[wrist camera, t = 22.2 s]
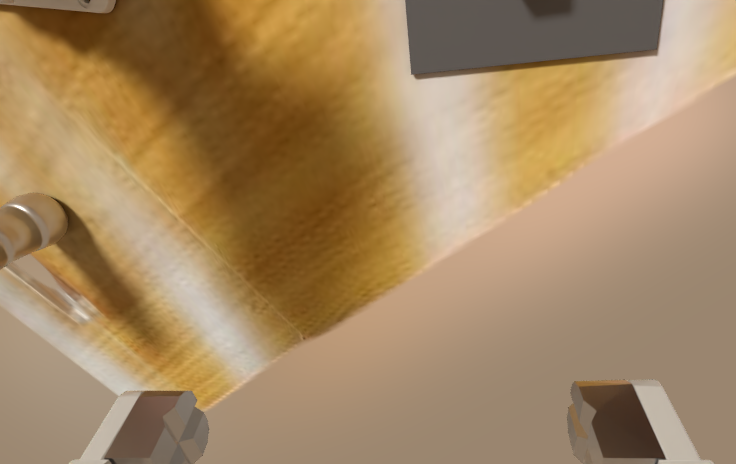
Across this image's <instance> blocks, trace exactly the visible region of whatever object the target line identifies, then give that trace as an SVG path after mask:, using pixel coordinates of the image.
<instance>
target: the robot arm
mask: <svg viewBox="0 0 736 464" xmlns="http://www.w3.org/2000/svg"><path fill="white" fill-rule="evenodd" d="M115 2H116V0H90V2H89V1H88V0H0V4H5V5H16V6H27V7H38V8H49V9H60V10H72V11H83V12H94V13H109V12H111V11H112V10H113V8H114V6H115ZM571 396H572V400H573V404H572V405H571V406H569V407H568V416H567V421H568V433H569V438H570V442H571V446H572V450H573V453H574V456H575V457H576V458H578V459H579V460H580V461H581V462H582V463H583V464H714V463H713V462H712V461H711V460H701V459H700V457H699V455H698V453H697V451H696V449H695V447H694V445H693V444H692V442H691V440H690V438H689V436H688V434H687V432H686V430H685V429H684V427H683V425H682V423H681V421H680V419H679V417H678V415H677V413H676V411H675V409H674V408H673V406H672V404H671V402H670V400H669V398H668V396H667V395H666V392H665V390H664V389H663V387H662V385H661V384H660V383H659V382H658V381H657V380H653V379H652V380H628V381H627V380H601V381H575V382H574V383H573V384H572V387H571ZM196 402H197V399H196V397H195V396H194V394H193V392H192V391H125V392H124V393H123V394H121V395H120V396H119V397H118V398H117V400H116V401H115V403H114V405H113V406H112V408H111V409H110V411H109V413H108V414H107V416H106V418H105V419H104V421H103V422H102V424H101V426H100V427H99V429H98V431H97V432H96V434H95V435H94V437H93V439H92V440H91V442H90V443H89V445H88V447H87V448H86V450H85V452H84V453H83V455H82V456H81V458H80V459H74V460H72V461H71V462H70V463H68V464H194V463H195V462H196V461H197V460H198V459H199V458H200V457H201V456H203V453H204V450H205V448H206V445H207V441H208V433H209V427H208V421H207V418H206V416H205V414H204V412H202V411H201V410H199V409H197V408H196V407H194V406H195V404H196Z"/></svg>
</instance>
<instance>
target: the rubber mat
mask: <svg viewBox="0 0 736 464" xmlns="http://www.w3.org/2000/svg"><path fill="white" fill-rule="evenodd" d="M405 2H406V14H407V26H408V38H409V51H410V63H411V75H412V74H422V73H431V72H441V71H451V70H460V69H470V68H480V67H489V66H499V65H509V64H519V63H528V62H538V61H548V60H557V59H567V58H577V57H586V56H596V55H606V54H616V53H625V52H635V51H645V50H654V49H657V43H658V35H659V27H660V20H661V12H662V5H663V0H405Z"/></svg>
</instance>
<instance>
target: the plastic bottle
mask: <svg viewBox="0 0 736 464" xmlns="http://www.w3.org/2000/svg"><path fill="white" fill-rule="evenodd" d="M67 228H68V218H67V215H66V212H65V211H64V209H63V208H62V206H61V205H60V204H59V203H58V202H57V201H56V200H54V199H53V198H51V197H49V196H47V195H44V194H39V193H28V194H24V195H20V196H17V197H15V198H13V199H12V200H10V201H9V202H7V203H6V204H4V205H3V206H2V207H1V208H0V270H1V269H2V268H3V267H5V266H7V265H8V264H10V263H11V262H13V261H15V260H17V259H19V258H21V257H23V256H26V255H28V254H30V253H32V252H34V251H37V250H40V249H43V248H46V247H48V246H51V245H53V244H55V243H56V242H58V241H59V240H60V239H61V238H62V237H63V236H64V235H65V234H66V231H67Z"/></svg>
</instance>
